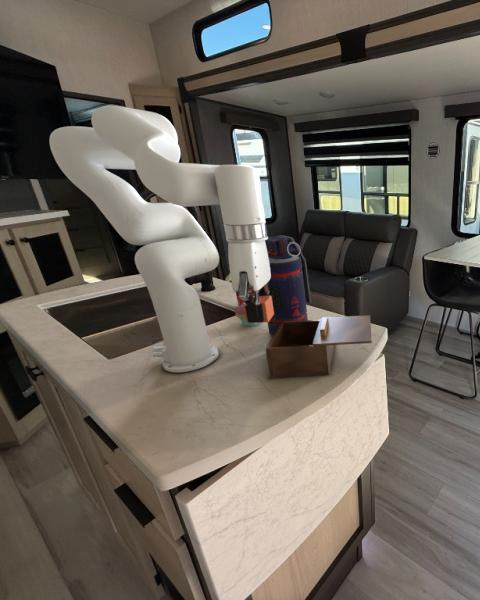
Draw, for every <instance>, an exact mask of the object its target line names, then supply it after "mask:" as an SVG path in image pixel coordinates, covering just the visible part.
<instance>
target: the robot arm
mask: <svg viewBox="0 0 480 600" xmlns="http://www.w3.org/2000/svg"><path fill="white" fill-rule="evenodd" d="M91 125H92V127H91V126H79V125H77V126H75V125H71V126H70V125H69V126H63V127H62V126H61V127H59V128H56V129H54V130H53V131H52V132H51V133H50V135H49V141H48V142H49V147H50V151H51V154H52V156H53V158H54V160H55V162H56V164H57V166H58V167H59V169H60V170H61V171H62V173H63V174H64V175H65V176H66V178H67V179H68V180H69V181H70V182H71V183H72V184H73V185H74V186H76V188H78V189H79V190H80V191H82V192H83V194H85V195H86V196H87V197H88V198H89V199H90V200H91V201H93V203H94V204H95V205H96V207H97V208H98V209H99V211H100V212H101V213H102V214H103V215H104V217H105V218H106V220H107V221H108V222H109V223H110V224H111V226H112V227H113V229H114V230H115V231H116V232H117V233H118V234H119V236H120V237H121V238H122V239H123V240H124V241H125V242H127V243H128V244H130V245H133V246H142V247H140V248H139V249H137V251H136V252H135V254H134V264H135V266H136V269H137V271H138V273H139V275H140V277H141V278H142V280H143V282H144V284H145V286H146V288H147V291H148V293H149V296H150V299H151V302H152V306H153V309H154V312H155V315H156V319H157V322H158V325H159V329H160V333H161V337H162V340H163V343H164V346H162V345H161V346H160V345H159V346H154V347H153V349H152V357H153V358H163V359H164V360H163V362H162V367H163V369H164V370H165V372H169V373H175V374H176V373H178V374H179V373H188V372H193V371H196V370H199V369H202V368H205V367H206V366H208V365H210V364H212V363H213V362H215V361H216V360H217V358H218V357H219V355H220V352H219V349H218V347H216V346H214V345H211V343H210V338H209V333H208V329H207V325H206V321H205V317H204V313H203V308H202V304H201V299H200V296H199V294H198V291H196V289H195V288H194V287H192V286H191V285H190V284H189V283H188V282H186V279H188V278H191V277H194V276H198V275H202V274H205V273H208V272H211V271H214V270H215V269H216V268H218V266H219V263H220V254H219V252H218V249H217V247H216V246H215V244H214V242H213V241H212V239H211V238H210V237H209V236H208V235H207V233H206V231H204V229H203V228H202V227H201V225H200V224H199V223H198V221H197V220H196V219H195V217H194V216H193V214H192V213H190V211H189V210H188V209H186V208H187V207H199V206H201V207H203V206H219V207H220V211H221V212H220V213H221V217H222V222H223V223H222V224H223V227H224V233H225V239H226V242H227V251H228V252H227V254H228V265H229V274H230V281H231V288H232V290H233V292H235V293H236V292H239V298H240V299H242V300H243V301H244V306H245V309H246V314H247V320H248V322H249V323H257V322H263V321H264V315H263V309H262V304H260V300H259V296H269V288H268V281H269V280H270V278H271V272H270V264H269V258H268V253H267V252H268V251H267V248H266V243H265V240H267V239H268V238H269V235H268V229H267V223H266V222H267V221H266V215H265V207H264V199H263V193H262V192H263V191H262V186H261V178H260V173H259V171H258V170H257V168H256V167H254V166H252V165H246V164H205V163H193V162H192V163H189V162H180V159H181V149H180V146H179V144H178V141H179V139H178V133H177V130H176V128H175V127H174V125H173V124H172V123H171V121H170V120H169V119H168V118H166V117H165V116H163V115H162V114H159V113H157V112H154V111H150V110H149V111H148V110H144V109H137V108H132V107H127V106H122V105H113V104H111V105H109V104H108V105H103V106H100V107H97V108H96V109H95V110H94V111H93V113H92V115H91ZM110 169H111V170H132V171H133V170H134V171H136V173H137V175H138V178H139V179H140V181H141V183H142V184H143V186H145V188H147V189H148V190H149V191H151V192H152V193H153V194H155V195H156V196H158V197H160V198H161V199H162V200H164V201H166V202H148V201H146V200H145V199H144V198H143V197H142V196H141V195H140V194H139V193H138V191H137V190H136V189H135V187H133V186H132V185H131V184H130V183H129V182H127V181H126V180H125V179H123V178H121V177H120V176H118V175H116V174H114V173H112V172H110V171H109V170H110ZM249 287H253V290H249ZM249 293H254V296H255V298H254V297H253V296H252V295H250V294H249Z"/></svg>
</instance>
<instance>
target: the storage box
mask: <svg viewBox="0 0 480 600" xmlns="http://www.w3.org/2000/svg"><path fill="white" fill-rule="evenodd" d="M319 321H320V319H308V320H304V321H282V322H281V324H280V325H279V327H278V329H277V330H276V332H275V334H274V336H272V337H271V339H270V341H269V342H268V344H267V346H266V347H265V355H266V360H267V366H268V367H267V368H268V373H269V378H270V379H279V378H296V377H309V376H310V377H311V376H326V375H327V376H328V375H330V370H331V365H332V360H333V359H332V358H333V354H334V347H335V345H326V346H313V345H312V344H313V341H314V337H315V334H316V331H317V328H318V325H319Z"/></svg>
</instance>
